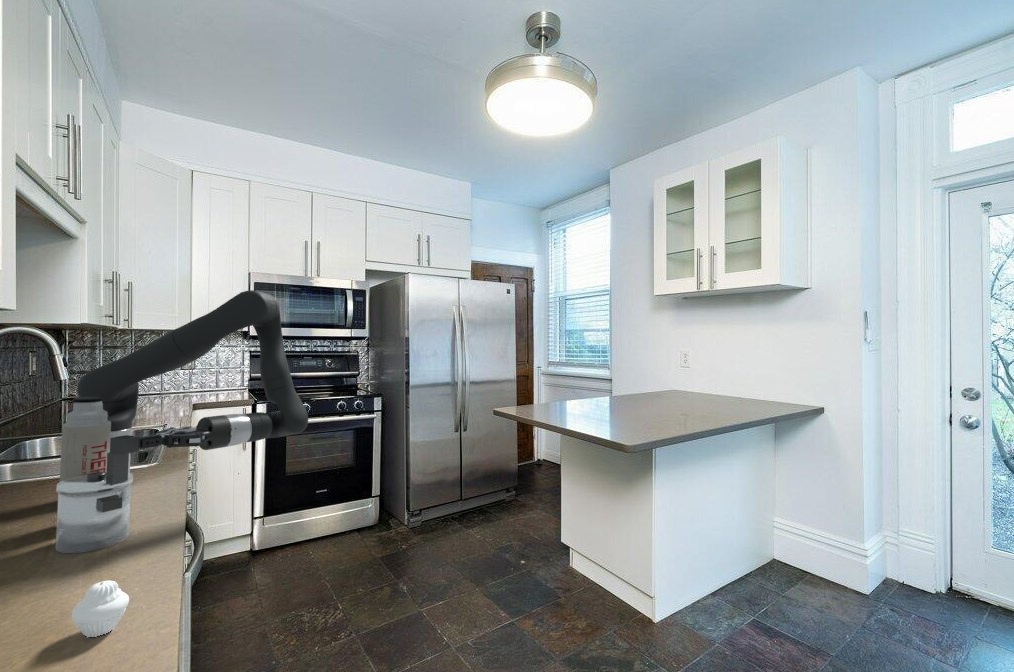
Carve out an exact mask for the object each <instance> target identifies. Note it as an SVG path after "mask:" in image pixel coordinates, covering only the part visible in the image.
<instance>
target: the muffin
mask: <svg viewBox="0 0 1014 672" xmlns="http://www.w3.org/2000/svg"><path fill="white" fill-rule="evenodd" d="M129 602H130V596H129V595H128V594H127V593H126V592H124V591H122V589H121V588H120V587H119V584H118V583H117V581H114V580H103V581H100V582H96V583H94V584H93V585H90V586H89V587H88V588H87V590H86V591H85V593H84V596H83V598H81V600H80V601H79V602H78V603H77V604H76V605H75V606H74V608H73V609H72V611H71V619H72V620H73V621H74V622H73V623H74V626H76V627H77V629H78V630H79V631H80V632H81V633H82V635H83V636H84V635H85V636H87V637H86V638H88V637H95V636H99V635H103V634H105V635H107V634H106V633H108V632H109V633H111V632H112V631H113V630H114V629H115V628H116V627H117V626H118V623H119V622H120V620H121V618H122V617H123V615H124V613H125V611H126V610H127V606H128V605H129V604H130V603H129ZM111 630H112V631H111ZM110 631H111V632H110ZM109 633H108V634H109ZM85 636H84V637H85ZM103 636H104V635H103Z"/></svg>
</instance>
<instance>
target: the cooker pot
mask: <svg viewBox="0 0 1014 672" xmlns="http://www.w3.org/2000/svg"><path fill="white" fill-rule="evenodd" d="M131 488H132V483H131V484H129V485H127V486H124V487H121V488H118V489H114V490H110V491H105V492H99V493H92V494H82V495H64V494H59V493H57V494H58V496H57V514H56V515H57V517H56V535H55V537H56V538H55V550H56V551H57V552H58V553H63V554H80V553H87V552H92V551H93V552H94V551H98V550H101V549H102V550H103V549H105V548H108V547H110V546H111V547H112V546H114V545H116V544H119V543H121V542H122V541H124V540H126V539H127V538H128V537H129V535H130V515H131V514H130V511H131V495H132V494H131V491H132V490H131Z"/></svg>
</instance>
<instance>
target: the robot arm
mask: <svg viewBox="0 0 1014 672" xmlns="http://www.w3.org/2000/svg"><path fill="white" fill-rule="evenodd" d="M280 311H281V310H280V305H279V303H278V300H277V299H276V298H275V297H274V296H273V295H271V294H269V293H267V292H262V291H259V290H255V289H253V290H251V289H250V290H244V291H242V292H239V293H238V294H236V295H235V296H233V297H231V298H230V299H228V300H226V301H225V302H224V303H222V304H220V305H219V306H217V307H216V308H215V309H213V310H212V311H210V312H208V313H205V314H204V315H201V316H200V317H198V318H196V319H194V320H192V321H189V322H187V323H186V324H183V325H181V326H179V327H177V328H175V329H173V330H171V331H168V332H167V333H165V334H163V335H162V336H160V337H158V338H156V339H155V340H152V341H151V342H149V343H147V344H146V345H144V346H141V347H139V348H138V349H136V350H134V351H132V352H131V353H129V354H127V355H125V356H123V357H121V358H119V359H117V360H114V361H112V362H109V363H107V364H106V363H105V364H104V365H101V366H99V367H96V368H93V369H92V370H89V371H88V372H86V373H85V374H84V375H83V376H82V377H81V378H80V379H79V381H78V383H77V388H76V391H77V395H78V398H80V397H103V401H102V403H103V410H105V411H107V412H108V413H107V415H108V417H107V420H109V421H111V434H110V438H113V437H119V436H124V435H129V436H132V430H133V429H132V427H133V421H134V419H135V418H136V415H137V410H138V400H139V391H140V389H139V388H140V384H139V383H141V382H142V381H145V380H148V379H151V378H153V377H157V376H160V375H163V374H166V373H169V372H173V371H175V370H178V369H180V368H182V367H185V366H187V365H188V364H191V363H192V362H194V361H196V360H198V359H200V358H202V357H203V356H205V355H206V354H208V353H209V352H210V351H211V350H212V349H214V347H216V345H217V344H218V343H220V341H221V340H222V339H224V338H226V337H228V336H229V335H232V334H233V333H236V332H238V331H240V330H243V329H245V328H248V327H252V326H253V329H254V330H255V333H256V336H257V339H258V342H259V354H260V355H259V373H260V380H261V382H262V386H263V389H264V393H265V397H266V398H267V401H268V402H270V403H274V404H276V406H277V408H278V410H277V411H272V412H262V411H261V412H249V413H232V414H222V415H213V416H205V417H204V416H203V417H202V418H200V419H199V421H198V422H197V425H196V426H192V425H185V426H181V427H178V428H176V427H173V426H171V427H169V428H166V429H162V430H159V431H156V432H155V434H151V435H144V436H140V440H139V450H142V449H148V448H149V449H150V448H155V447H159V448H160V447H161V448H164V447H166V448H170V449H171V448H185V447H186V448H188V447H189V448H190V447H196V448H197V447H199V448H200V449H201V450H203V451H210V450H217V449H221V448H228V447H233V446H238V445H241V444H245V443H251V442H257V441H261V440H264V439H275V438H282V437H288V436H293V435H297V434H300V433H302V432H304V431H305V430H306V428H307V426H308V423H309V415H308V411H307V409H306V406H305V405H304V403H303V401H302V400H301V398H300V396H299V394H298V393H297V391H296V389H295V386H294V382H293V379H292V375H291V370H290V367H289V363H288V360H287V355H286V351H285V350H286V349H285V345H284V344H285V343H284V338H283V332H282V321H281V320H282V319H281V312H280ZM131 454H132V453H129V463H128V472H129V473H131Z"/></svg>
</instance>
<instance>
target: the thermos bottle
mask: <svg viewBox="0 0 1014 672" xmlns="http://www.w3.org/2000/svg"><path fill="white" fill-rule="evenodd" d="M102 401H103V397H75V398H73V399H72V403H74V404H73V406H72V411H70V412H68V413H67V414H66V417H65V418H66V422H65V423H63V424H62V427H61V447H60V449H61V450H60V464H59V465H60V468H59V469H60V470H59V482H61V481H63V480H66V479H69V478H73V477H77V476H81V475H87V474H89V473H94V472H106V470H107V453H109V452H110V434H111V421H109V420H107V417H108V415H107V413H108V412H107V411H105V410H103V403H102Z"/></svg>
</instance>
